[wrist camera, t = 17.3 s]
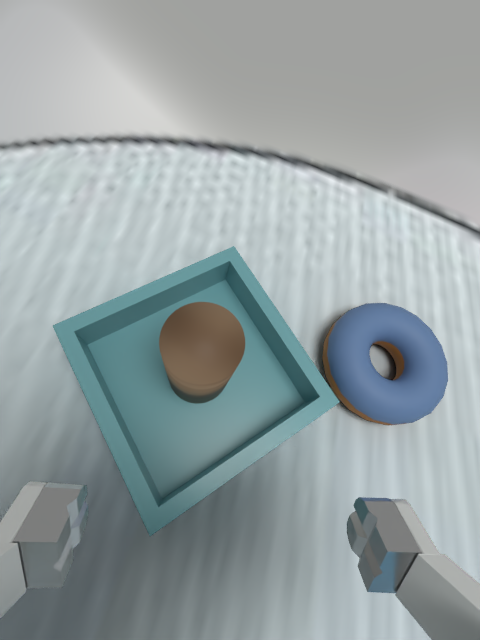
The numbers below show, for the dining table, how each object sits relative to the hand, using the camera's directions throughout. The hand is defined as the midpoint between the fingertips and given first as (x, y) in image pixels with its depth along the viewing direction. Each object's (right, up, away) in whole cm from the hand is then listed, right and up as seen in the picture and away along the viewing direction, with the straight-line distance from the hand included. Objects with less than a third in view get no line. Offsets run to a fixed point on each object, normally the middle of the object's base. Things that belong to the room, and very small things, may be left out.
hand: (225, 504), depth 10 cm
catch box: (-3, +1, +15) cm, 16 cm away
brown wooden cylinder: (-3, +2, +14) cm, 15 cm away
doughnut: (+12, +1, +18) cm, 22 cm away
